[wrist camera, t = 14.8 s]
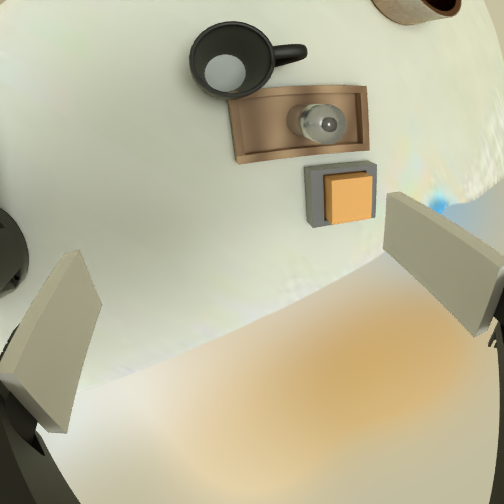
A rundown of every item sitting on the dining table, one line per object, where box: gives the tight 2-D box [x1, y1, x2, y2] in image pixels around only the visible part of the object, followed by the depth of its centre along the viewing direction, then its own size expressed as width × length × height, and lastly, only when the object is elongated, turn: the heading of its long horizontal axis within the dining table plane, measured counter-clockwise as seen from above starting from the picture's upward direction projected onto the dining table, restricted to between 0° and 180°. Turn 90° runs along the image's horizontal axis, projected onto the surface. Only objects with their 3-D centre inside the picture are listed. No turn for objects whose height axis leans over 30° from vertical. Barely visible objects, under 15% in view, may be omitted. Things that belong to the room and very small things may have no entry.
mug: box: [189, 21, 307, 100], centre depth 29 cm, size 8×12×10 cm
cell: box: [286, 104, 347, 145], centre depth 32 cm, size 4×4×9 cm
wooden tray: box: [228, 85, 370, 165], centre depth 36 cm, size 18×9×2 cm, turn 97°
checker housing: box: [304, 161, 377, 228], centre depth 41 cm, size 10×8×2 cm
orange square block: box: [323, 171, 372, 225], centre depth 40 cm, size 6×6×3 cm
